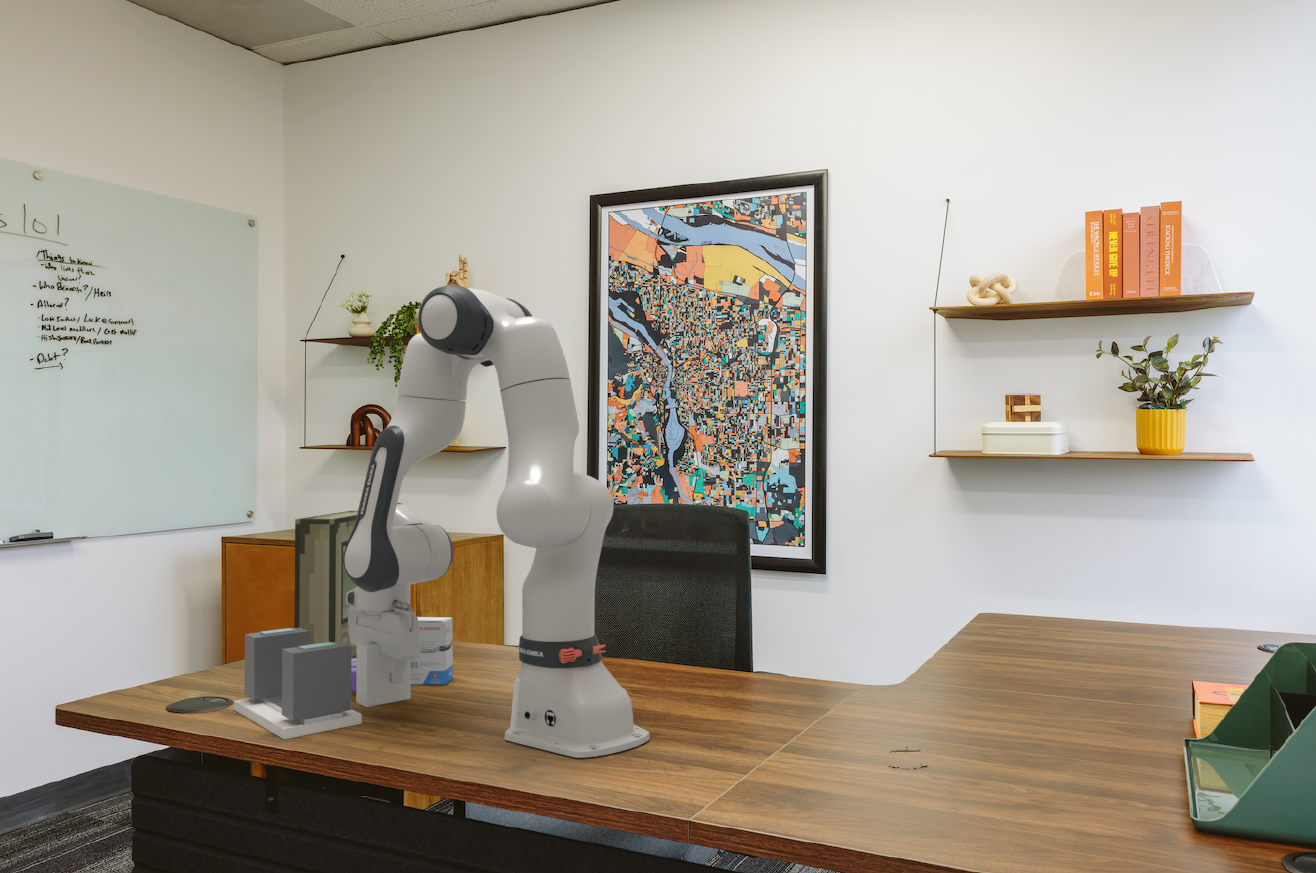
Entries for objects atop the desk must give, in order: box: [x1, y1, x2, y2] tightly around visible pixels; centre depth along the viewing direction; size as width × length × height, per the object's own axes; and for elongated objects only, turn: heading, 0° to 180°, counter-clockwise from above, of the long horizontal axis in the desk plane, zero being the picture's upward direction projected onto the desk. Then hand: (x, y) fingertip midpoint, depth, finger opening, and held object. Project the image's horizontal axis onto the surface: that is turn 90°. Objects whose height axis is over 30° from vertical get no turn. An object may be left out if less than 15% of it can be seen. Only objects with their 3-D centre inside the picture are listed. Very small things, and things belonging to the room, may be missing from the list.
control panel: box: [293, 510, 358, 659], centre depth 191 cm, size 30×8×30 cm, turn 178°
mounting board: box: [233, 697, 363, 740], centre depth 149 cm, size 22×12×2 cm, turn 42°
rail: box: [257, 695, 343, 725], centre depth 149 cm, size 22×6×1 cm, turn 42°
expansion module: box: [355, 641, 412, 708], centre depth 159 cm, size 4×8×10 cm, turn 132°
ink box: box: [411, 616, 454, 686], centre depth 173 cm, size 8×5×12 cm, turn 84°
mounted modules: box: [244, 627, 352, 721], centre depth 149 cm, size 21×9×10 cm, turn 42°
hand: (383, 678), depth 159 cm, fingers open, 8 cm apart
